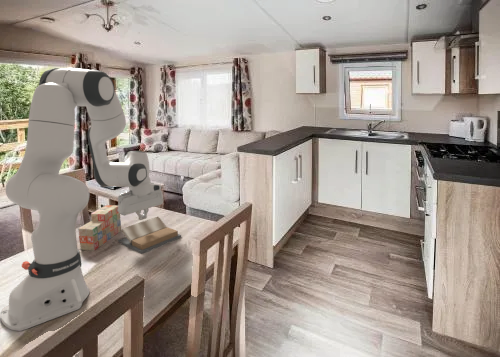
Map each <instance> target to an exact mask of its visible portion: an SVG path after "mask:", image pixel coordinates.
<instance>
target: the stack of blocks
mask: <svg viewBox="0 0 500 357" xmlns="http://www.w3.org/2000/svg"><path fill="white" fill-rule="evenodd" d="M121 221H122V220H121V214H120V213H119V212H118V205H113V204H112V205H110V204H106V205H104V206H101V207H100V208H98V209H96V210H95V211H93V212H91V213H90V221H89V222H87V223H85V224H84V225H82V226H80V227H78V228H77V229H78V239H79V246H80V250H81V251H83V250H84V251H96V250H98V249H99V248H100V247H101V246H103V245H104V244H105V243H107V242H108V241H109V240H110V239H112V238H113V237H115V236H116V235H117V234H118V233H120V232H122V223H121Z"/></svg>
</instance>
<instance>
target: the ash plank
mask: <svg viewBox="0 0 500 357" xmlns="http://www.w3.org/2000/svg"><path fill="white" fill-rule="evenodd" d="M167 227H168V226H167V224H165V223H164V221H163V220H162V219H161V218H160V217H159V216H156V217H153V218H150V219H147V220H146V219H145V220H142V221H141V222H137V223H134V224H131V225H128V226H125V227H121V233H122V234H123V235H124V236H125V237H126V238H127V239H128V240H129V242H130V243H132V240H135V239H137V238H140V237H143V236H145V235H148V234H151V233H153V232H156V231H159V230H161V229H164V228H167ZM125 237H124V238H125Z"/></svg>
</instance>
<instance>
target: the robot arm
mask: <svg viewBox="0 0 500 357" xmlns="http://www.w3.org/2000/svg"><path fill="white" fill-rule="evenodd" d="M77 107H86V111H87V115H88V117H89V119H90V124H91V125H90V127H89V128H88V130H87V141H88V147H89V151H90V155H91V160H92V164H93V178H94V180H95V182H96V183H97V184H98V185H99V186H100V187H102V188H112V187H117V188H118V187H119V188H122V187H123V188H124V187H127V188H128V191H125V192H121V193H120V194H119V195H118V197H117V202H118V203H117V206H118V212H119V213H120V216H128V215H130V214H134V213H135V214H136V215H137V216H138V220H139V221H144V220H146V219H147V218H148V216H147V215H148V214H149V213H148V212H149V209H151V208H155V207H156V206H160V205H162V204H164V203H163V202H164V195H163V191H162V185H161V184H158V183H155V182H151V178H150V173H151V170H150V169H151V168H150V162H149V156H148V154H147V152H146V151H142V150H141V151H140V150H139V151H138V150H130V151H128V152H127V154H126V155H127V156H126V160H125V161H123V162H119V161H118V162H117V161H116V162H115V161H111V160H110V159H108V155H107V148H106V144H105V143H106V142H108V141H111V140H114V139H115V138H117V137H118V136H120V135H121V134H122V133H123V132H124V130H125V129H126V122H127V120H126V116H125V115H126V114H125V112H124V109H123V106H122V104H121V102H120V99H119V97H118V94H117V93H116V91H115V84H114V82H113V80H112V79H111V77H110V76H109V74H107V73H106V72H104V71H102V70H97V69H86V68H78V67H64V68H60V67H56V68H49V69H47V70H45V71H44V72H43V73H42V74H41V76H40V78H39V83H38V86H37V87H36V88H35V89H34V92H33V95H32V99H31V103H30V107H29V113H28V114H29V115H28V125H27V135H26V136H27V137H26V147H25V151H24V154H23V158H22V160H21V163H20V165H19V167H18V169H17V171H16V173H15V174H13V175H12V176H11V177H10V178H9V179H8V181H7V182H6V185H5V194H6V197H7V198H8V199H9V201H11V203H13V204H14V205H17V206H18V207H21V208H23V209H25V210H26V209H27V210H33V211H37V213H38V215H39V218H38V226H37V227H36V228H35V229H34V230H33V231H32V233H31V237H30V239H31V244H32V252H33V257H34V259H33V261H31V263H30V262H29V261H26V260H25V261H23V262H22V263H21V267H22V268H23V269H24V270H25V271H28V274H27V275H26V276H25V278H24V279H23V280H21V282H20V283H19V284H18V285H17V286H15V287H14V288H13V289H12V291H10V293H9V298H8V305H7V306H3V308H2V309H1V311H0V320H1V322H2V324H3V325H4V326H5V327H6V328H7V329H9V330H12V331H19V332H20V331H25V330H27V329H30V328H33V327H35V326H37V325H38V326H39V325H41V324H43V323H45V322H49V321H51V320H54V319H57V318H59V317H61V316H64V315H68V314H70V313H72V312H75V311H77V310H80V309H81V307H82V305H83V302H84V301H85V300H86V299H87V297H88V296H89V294H90V288H89V287H88V285H87V283H86V280H85V277H84V274H83V271H82V256H81V252H80V250H79V249H78V241H77V231H76V226H77V220H78V217H79V215H80V213H81V212H82V211H83V210H84V209H85V208H86V207H87V205H88V203H89V200H90V190H89V188H88V186H87V184H86V183H85V182H83V181H82V180H80V179H78V178H75V177H73V176H71V175H66V174H60V171H61V168H62V165H63V163H64V162H65V160H67V159H68V158H70V157H71V155H72V153H73V151H74V143H75V142H74V140H75V139H74V138H75V127H76V112H75V109H76V108H77ZM142 211H143V213H142ZM141 213H142V214H141Z"/></svg>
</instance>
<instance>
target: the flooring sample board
mask: <svg viewBox="0 0 500 357" xmlns="http://www.w3.org/2000/svg"><path fill="white" fill-rule="evenodd" d="M180 237H181V238H182V234H180V233H178V230H176V229H174V228H171V227H168V226H167V228H164V229H161V230H159V231H156V232H153V233H151V234H148V235H145V236H143V237H140V238H137V239H135V240H132V243H130V242H129V240H128V239H127V238H126V237H122V238H120V239H118V240H117V243H119V244H121V245H123V246H125V247H126V248H129V249H131V250H133V251H134V252H135V251H136V252H137V253H140V254H145V253H147V252H149V251H151V250H154V249H156V248H159V247H162V246H164V245H167V244H168V243H171V242H173V241H175V240H178V239H181V238H180Z"/></svg>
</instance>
